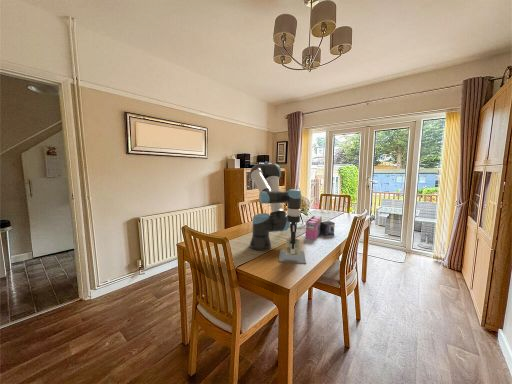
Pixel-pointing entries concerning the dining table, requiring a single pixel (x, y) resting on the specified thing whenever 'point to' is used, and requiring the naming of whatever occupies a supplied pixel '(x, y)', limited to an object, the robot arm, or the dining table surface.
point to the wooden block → (288, 246)
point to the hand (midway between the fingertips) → (292, 252)
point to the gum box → (313, 227)
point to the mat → (292, 257)
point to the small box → (327, 228)
